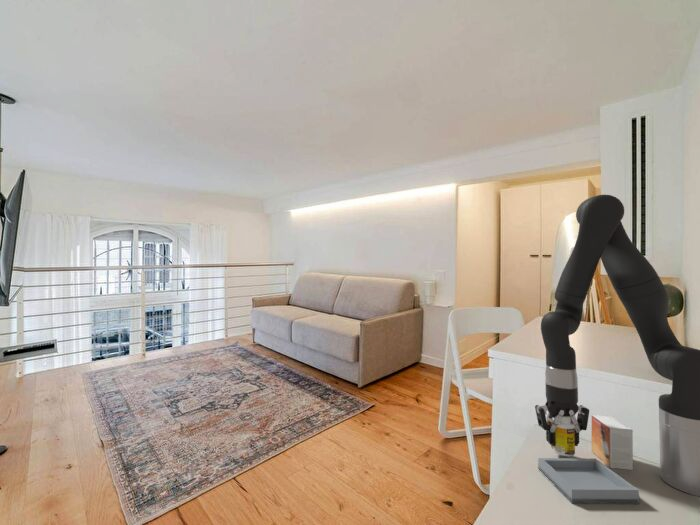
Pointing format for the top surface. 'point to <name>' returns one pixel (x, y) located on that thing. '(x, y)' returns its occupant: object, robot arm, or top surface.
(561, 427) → the supplement bottle
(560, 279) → the robot arm
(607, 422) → the small box
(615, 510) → the top surface
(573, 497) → the slate tray
